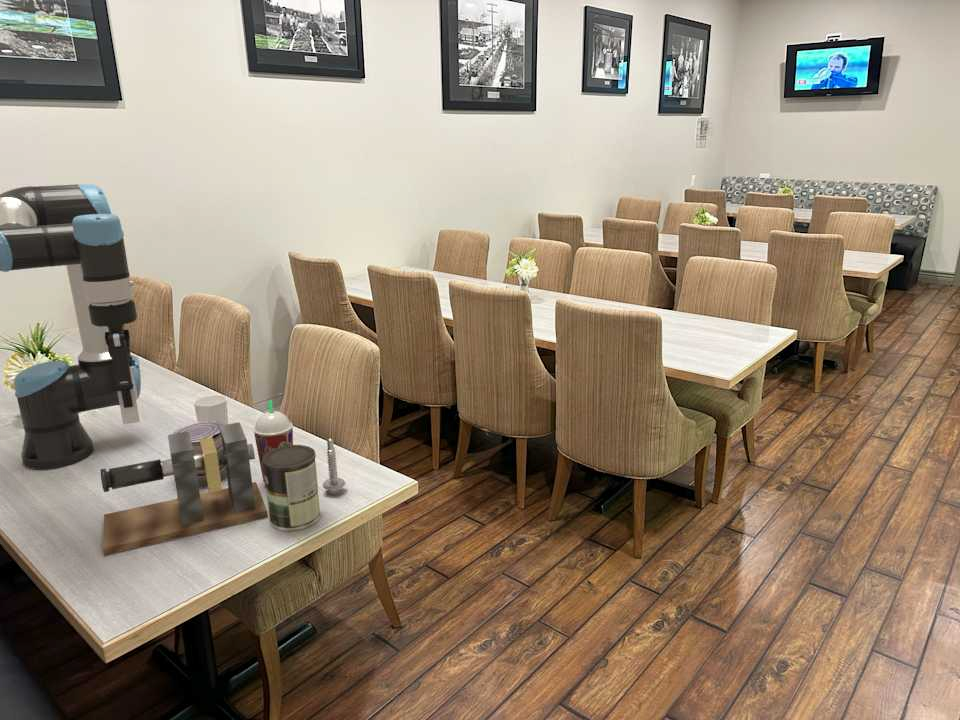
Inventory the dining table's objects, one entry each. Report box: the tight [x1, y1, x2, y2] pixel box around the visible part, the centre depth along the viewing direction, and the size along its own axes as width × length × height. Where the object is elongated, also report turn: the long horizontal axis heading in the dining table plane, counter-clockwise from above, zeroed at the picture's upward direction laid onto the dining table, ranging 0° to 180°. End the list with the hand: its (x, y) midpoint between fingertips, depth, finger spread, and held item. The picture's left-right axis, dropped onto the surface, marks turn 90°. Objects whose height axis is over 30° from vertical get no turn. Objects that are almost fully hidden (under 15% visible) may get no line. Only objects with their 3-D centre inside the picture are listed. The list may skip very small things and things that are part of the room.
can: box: [172, 420, 227, 489], centre depth 156 cm, size 11×11×12 cm
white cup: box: [193, 394, 229, 425], centre depth 179 cm, size 8×8×10 cm
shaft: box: [100, 443, 256, 493], centre depth 137 cm, size 28×4×4 cm, turn 116°
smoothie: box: [252, 399, 294, 483], centre depth 152 cm, size 8×8×20 cm
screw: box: [322, 437, 346, 496], centre depth 148 cm, size 13×5×5 cm
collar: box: [199, 437, 223, 493], centre depth 139 cm, size 2×8×8 cm, turn 26°
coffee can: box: [262, 444, 321, 532], centre depth 138 cm, size 10×10×14 cm
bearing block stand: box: [101, 421, 269, 557], centre depth 138 cm, size 30×14×17 cm, turn 116°
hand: (131, 410), depth 130 cm, fingers open, 13 cm apart
